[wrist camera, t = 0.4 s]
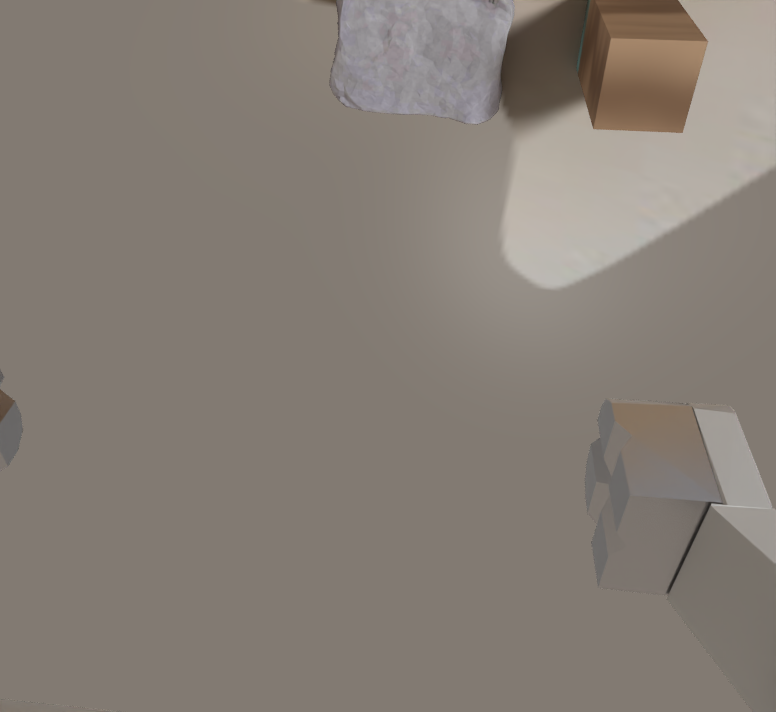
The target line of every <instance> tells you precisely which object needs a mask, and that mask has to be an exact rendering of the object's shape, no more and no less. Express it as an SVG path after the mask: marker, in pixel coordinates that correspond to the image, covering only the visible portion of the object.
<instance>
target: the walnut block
mask: <svg viewBox="0 0 776 712" xmlns="http://www.w3.org/2000/svg"><path fill="white" fill-rule="evenodd" d="M707 43H708V41H707V39H706V38H705V37H704V35H703V34H702V33H701V31H700V30H699V28H698V27H697V26H696V24H695V23H694V22H693V20H692V19H691V18H690V16H689V15H688V13H687V12H686V11H685V9H684V8H683V7H682V5H681V4H680V2H679V1H678V0H588V3H587V8H586V14H585V20H584V26H583V32H582V38H581V44H580V50H579V56H578V62H577V67H576V69H577V72H578V76H579V79H580V83H581V87H582V90H583V94H584V97H585V101H586V104H587V108H588V112H589V115H590V119H591V122H592V126H593V129H604V130H628V131H652V132H676V133H683V129H684V126H685V122H686V118H687V115H688V111H689V108H690V104H691V101H692V97H693V93H694V90H695V86H696V83H697V79H698V76H699V72H700V68H701V65H702V61H703V58H704V54H705V50H706V47H707Z"/></svg>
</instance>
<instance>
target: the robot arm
mask: <svg viewBox="0 0 776 712" xmlns="http://www.w3.org/2000/svg"><path fill="white" fill-rule="evenodd" d="M3 379H4V376H3V374H2V372H1V370H0V385H1V383H2V381H3ZM598 426H599V433H600V438H599V439H597V440H596V441H595V442H593V443H592V444H591V446H590V450H589V454H588V459H587V464H586V475H585V498H586V506H587V514H588V515H589V516H590V517H591V518H592V519H593V520H594V521H595V523H596V524H597V526H596V529H595V532H594V536H593V539H592V542H591V544H592V550H593V557H594V564H595V571H596V577H597V584H598V588H603V589H611V590H621V591H629V592H638V593H646V594H655V595H664V596H668V597H667V600H668V602H669V603H670V604H671V606H672V607H673V608H674V609H675V611H676V612H677V613H678V615H679V616H680V617H681V619H682V620H683V621H684V623H685V624H686V625H687V627H688V628H689V629H690V630H691V632H692V633H693V634H694V636H695V637H696V638H697V640H698V641H699V642H700V644H701V645H702V646H703V648H704V649H705V650H706V652H707V653H708V654H709V655H710V657H711V658H712V659H713V661H714V662H715V663H716V665H717V666H718V667H719V668H720V670H721V671H722V672H723V674H724V675H725V676H726V678H727V679H728V680H729V681H730V683H731V684H732V686H733V687H734V688H735V689H736V691H737V692H738V693H739V695H740V696H741V697H742V698H743V700H744V701H745V703H746V704H747V705H748V706H749V708H750V709H751V710H752V712H776V509H773V507H772V505H771V502H770V500H769V497H768V495H767V492H766V489H765V487H764V484H763V482H762V479H761V477H760V474H759V472H758V469H757V467H756V464H755V461H754V459H753V456H752V454H751V451H750V449H749V446H748V444H747V441H746V438H745V436H744V433H743V431H742V428H741V425H740V423H739V420H738V418H737V416H736V413H735V411H734V410H733V409H732V408H731V407H730V406H729V405H716V404H698V403H687V404H684V403H673V402H657V401H641V400H624V399H609V398H606V399H605V401H604V403H603V404H602V406H601V410H600V413H599V417H598ZM22 432H23V428H22V419H21V413H20V411H19V409H18V406H17V404H16V402H15V401H14V400H13V399H12V398H11V397H9V396H8V395H7V394H6V393H4V392H3V391H2V390H1V389H0V471H2V470H3V469H5V468H6V467H8V466H9V464H10V462H11V461H12V459H13V458H14V456H15V454H16V453H17V451H18V449H19V444H20V440H21V436H22ZM0 712H120V711H110V710H100V709H90V708H81V707H72V706H63V705H54V704H44V703H35V702H25V701H15V700H6V699H0Z"/></svg>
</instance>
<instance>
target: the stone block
mask: <svg viewBox="0 0 776 712" xmlns="http://www.w3.org/2000/svg"><path fill="white" fill-rule="evenodd" d="M336 4H337V12H338V30H339V31H338V37H339V38H338V42H337V45H336V49H335V58H334V62H333V66H332V68H331V76H330V87H331V90H332V92H333V94H334V95H335V96H336V97H337V98H338V100H339V101H340V102H341V103H342V104H343V105H345V106H346V107H350V108H355V109H359V110H362V111H369V112H379V113H387V114H403V115H407V114H420V115H433V116H437V117H441V118H450V119H453V120H456V121H459V122H462V123H467V124H480V123H483V122H485V121H488V120H489V119H491V118H492V117H493V116H494V115H495V114H496V113H497V111H498V110H499V103H500V99H501V94H502V83H501V67H502V61H503V55H504V52H505V48H506V41H507V35H508V32H509V29H510V26H511V24H512V21H513V17H514V3H513V0H336Z"/></svg>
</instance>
